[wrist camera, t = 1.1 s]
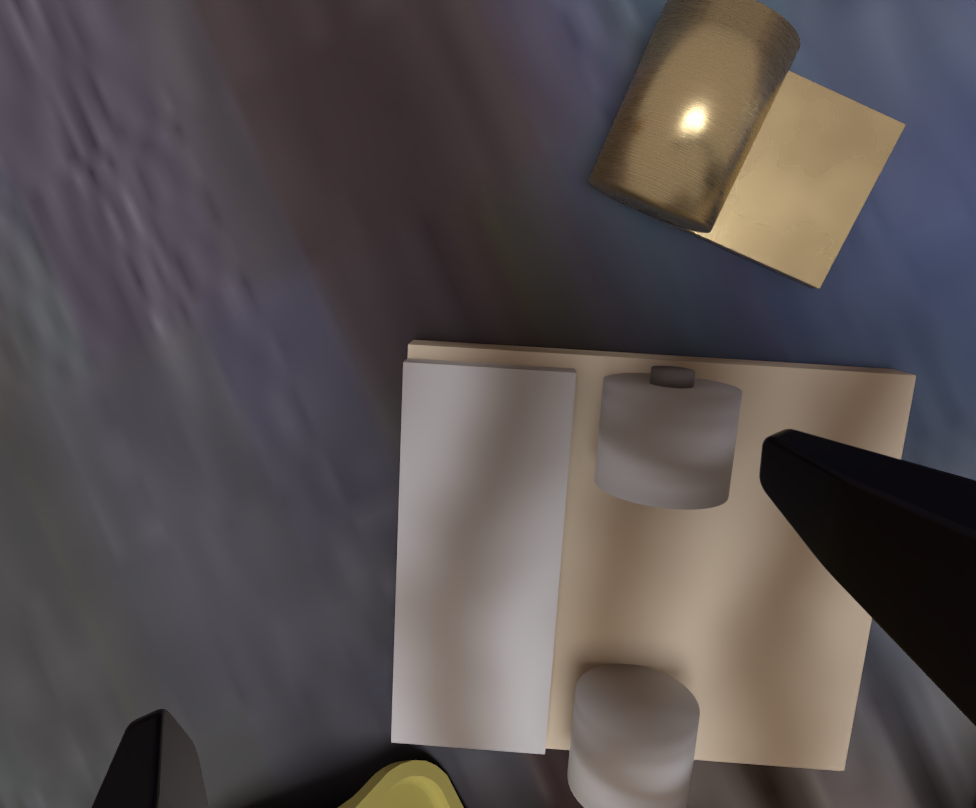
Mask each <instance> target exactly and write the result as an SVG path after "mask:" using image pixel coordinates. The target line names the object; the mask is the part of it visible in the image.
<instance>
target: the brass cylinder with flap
mask: <svg viewBox="0 0 976 808" xmlns="http://www.w3.org/2000/svg"><path fill="white" fill-rule="evenodd" d="M799 48H800V38H799V36H798V34H797V32H796V30H795V29H794V28H793V26H792V25H791V24H790V23H789V22H788V21H787V20H786V19H784V18H783V17H782V16H781V15H779V14H778V13H777V12H775V11H774V10H772V9H770V8H769V7H767V6H765V5H764V4H762V3H760V2H758V1H756V0H667V2H666V4H665V6H664V9H663V11H662V13H661V16H660V18H659V20H658V22H657V25H656V27H655V29H654V31H653V34H652V36H651V38H650V41H649V43H648V45H647V47H646V50H645V52H644V54H643V56H642V59H641V61H640V63H639V66H638V68H637V70H636V72H635V75H634V77H633V79H632V81H631V84H630V86H629V88H628V91H627V93H626V95H625V97H624V100H623V102H622V104H621V106H620V109H619V111H618V113H617V116H616V118H615V120H614V122H613V125H612V127H611V129H610V131H609V134H608V136H607V138H606V141H605V143H604V145H603V147H602V150H601V152H600V154H599V156H598V159H597V161H596V163H595V166H594V168H593V170H592V172H591V175H590V177H589V179H588V181H589V183H590V184H591V185H592V186H593V187H595V188H596V189H597V190H599V191H600V192H602V193H604V194H605V195H607V196H609V197H611V198H613V199H614V200H616V201H618V202H620V203H622V204H624V205H627V206H629V207H631V208H633V209H636V210H638V211H640V212H642V213H645V214H647V215H649V216H651V217H654V218H656V219H658V220H660V221H662V222H665V223H667V224H669V225H671V226H674V227H676V228H678V229H680V230H683V231H685V232H687V233H689V234H692V235H694V236H696V237H698V238H701V239H703V240H705V241H707V242H710V243H712V244H714V245H716V246H718V247H721V248H723V249H725V250H727V251H730V252H732V253H734V254H736V255H739V256H741V257H743V258H745V259H748V260H750V261H752V262H754V263H757V264H759V265H761V266H763V267H766V268H768V269H770V270H772V271H775V272H777V273H779V274H781V275H783V276H786V277H788V278H790V279H792V280H795V281H797V282H799V283H801V284H804V285H806V286H808V287H810V288H817V289H820V287H821V285H822V283H823V281H824V279H825V277H826V275H827V274H828V272H829V270H830V268H831V266H832V264H833V262H834V260H835V258H836V256H837V255H838V253H839V251H840V249H841V247H842V245H843V243H844V241H845V239H846V237H847V235H848V234H849V232H850V230H851V228H852V226H853V224H854V222H855V220H856V218H857V216H858V215H859V213H860V211H861V209H862V207H863V205H864V203H865V201H866V199H867V197H868V195H869V194H870V192H871V190H872V188H873V186H874V184H875V182H876V180H877V178H878V176H879V175H880V173H881V171H882V169H883V167H884V165H885V163H886V161H887V159H888V157H889V155H890V154H891V152H892V150H893V148H894V146H895V144H896V142H897V140H898V138H899V136H900V135H901V133H902V131H903V129H904V127H905V124H903V123H901V122H899V121H897V120H895V119H892V118H890V117H888V116H886V115H884V114H882V113H879V112H877V111H875V110H873V109H871V108H869V107H866V106H864V105H862V104H860V103H858V102H856V101H853V100H851V99H849V98H847V97H845V96H843V95H840V94H838V93H836V92H834V91H832V90H830V89H827V88H825V87H823V86H821V85H819V84H816V83H814V82H812V81H810V80H808V79H806V78H803V77H801V76H799V75H797V74H795V73H793V72H790V71H789V69H790V67H791V65H792V63H793V61H794V59H795V57H796V54H797V52H798V50H799Z"/></svg>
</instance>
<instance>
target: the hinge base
mask: <svg viewBox="0 0 976 808" xmlns="http://www.w3.org/2000/svg"><path fill="white" fill-rule="evenodd" d="M915 380H916V375H913V374H910V373H906V372H903V371H900V370H896V369H887V368H871V367H855V366H838V365H822V364H805V363H789V362H773V361H756V360H740V359H723V358H707V357H691V356H674V355H658V354H641V353H625V352H608V351H592V350H576V349H559V348H543V347H526V346H510V345H494V344H477V343H461V342H444V341H428V340H413V341H412V342H410V343H409V344H408V358H407V359H406V360H405V361H404V362H403V386H402V417H401V449H400V480H399V511H398V542H397V573H396V605H395V636H394V667H393V698H392V730H391V743H404V744H417V745H430V746H443V747H456V748H469V749H482V750H495V751H508V752H521V753H534V754H545V748H548V749H561V750H570V752H569V763H568V783H569V786H570V789H571V791H572V793H573V795H574V796H575V798H576V799H577V800H578V802H579V803H580V804H581V805H582V806H583V807H584V808H687V805H688V799H689V792H690V784H691V777H692V769H693V762H694V760H705V761H718V762H731V763H744V764H757V765H770V766H783V767H796V768H809V769H822V770H835V771H844V768H845V763H846V758H847V752H848V747H849V741H850V736H851V730H852V725H853V719H854V714H855V708H856V703H857V697H858V692H859V686H860V681H861V676H862V670H863V665H864V659H865V654H866V648H867V643H868V637H869V632H870V626H871V621H872V617H871V616H870V615H869V614H868V613H867V612H866V611H865V610H864V609H863V608H862V607H861V606H860V605H859V604H858V603H857V602H856V601H855V600H854V598H853V597H852V596H851V595H850V594H849V593H848V592H847V591H846V590H845V589H844V588H843V587H842V586H841V585H840V584H839V583H838V582H837V581H836V580H835V579H834V577H833V576H832V575H831V574H830V573H829V572H828V571H827V570H826V569H825V568H824V566H823V565H822V564H821V563H820V562H819V560H818V559H817V558H816V557H815V556H814V554H813V553H812V552H811V550H810V549H809V548H808V547H807V545H806V544H805V543H804V541H803V540H802V539H801V538H800V536H799V535H798V534H797V533H796V531H795V530H794V529H793V527H792V526H791V525H790V524H789V522H788V521H787V520H786V518H785V517H784V516H783V515H782V513H781V512H780V511H779V509H778V508H777V507H776V506H775V504H774V503H773V502H772V501H771V499H770V498H769V497H768V495H767V494H766V493H765V491H764V490H763V488H762V486H761V483H760V478H759V472H760V462H761V452H762V444H763V441H764V440H765V438H767V437H768V436H770V435H773V434H775V433H777V432H779V431H782V430H784V429H794V430H798V431H801V432H805V433H809V434H812V435H816V436H819V437H823V438H826V439H830V440H833V441H837V442H840V443H844V444H848V445H851V446H855V447H858V448H862V449H865V450H869V451H872V452H876V453H879V454H883V455H887V456H890V457H894V458H897V459H901V457H902V451H903V446H904V440H905V435H906V429H907V424H908V419H909V413H910V408H911V402H912V397H913V391H914V386H915Z"/></svg>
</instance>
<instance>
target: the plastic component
mask: <svg viewBox="0 0 976 808" xmlns="http://www.w3.org/2000/svg"><path fill="white" fill-rule="evenodd" d="M337 808H464V807H463V805H462V803H461V801H460V799H459V797H458V796H457V794H456V792H455V790H454V788H453V786H452V784H451V782H450V780H449V778H448V776H447V775H446V774H445V773H444V772H443V771H442V770H441V769H440V768H439V767H438V766H437V765H434V764H432V763H430V762H427V761H421V760H408V761H399V762H395V763H392V764H390V765H388V766H386V767H384V768H382V769H381V770H379V771H378V772H377V773H375V774H374V775H373V776H372V777H371V778H370V779H369V781H368V782H367V783H366V784H365V785H364V786H363V787H362V788H361V789H360V790H359V791H358V792H357V793H356V794H355V795H354V796H353V797H352V798H350V799H349V800H348V801H346V802H345V803H343V804H342V805H341V806H339V807H337Z"/></svg>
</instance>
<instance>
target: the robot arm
mask: <svg viewBox="0 0 976 808" xmlns="http://www.w3.org/2000/svg"><path fill="white" fill-rule="evenodd" d="M759 478H760V483H761V486H762V488H763V490H764V491H765V493H766V494H767V495H768V497H769V498H770V499H771V501H772V502H773V503H774V504H775V506H776V507H777V508H778V509H779V511H780V512H781V513H782V515H783V516H784V517H785V518H786V520H787V521H788V522H789V524H790V525H791V526H792V527H793V529H794V530H795V531H796V533H797V534H798V535H799V536H800V538H801V539H802V540H803V541H804V543H805V544H806V545H807V547H808V548H809V549H810V550H811V552H812V553H813V554H814V556H815V557H816V558H817V559H818V560H819V562H820V563H821V564H822V565H823V566H824V568H825V569H826V570H827V571H828V572H829V573H830V574H831V575H832V576H833V577H834V579H835V580H836V581H837V582H838V583H839V584H840V585H841V586H842V587H843V588H844V589H845V590H846V591H847V592H848V593H849V594H850V595H851V596H852V597H853V598H854V600H855V601H856V602H857V603H858V604H859V605H860V606H861V607H862V608H863V609H864V610H865V611H866V612H867V613H868V614H869V615H870V616H871V617H872V618H873V619H874V620H875V621H876V622H877V624H878V625H879V626H880V627H881V628H882V629H883V630H884V631H885V632H886V633H887V634H888V635H889V636H890V637H891V638H892V639H893V640H894V641H895V642H896V643H897V644H898V645H899V647H900V648H901V649H902V650H903V651H904V652H905V653H906V654H907V655H908V656H909V657H910V658H911V659H912V660H913V661H914V662H915V663H916V664H917V665H918V666H919V667H920V668H921V669H922V671H923V672H924V673H925V674H926V675H927V676H928V677H929V678H930V679H931V680H932V681H933V682H934V683H935V684H936V685H937V686H938V687H939V688H940V689H941V690H942V691H943V692H944V693H945V695H946V696H947V697H948V698H949V699H950V700H951V701H952V702H953V703H954V704H955V705H956V706H957V707H958V708H959V709H960V710H961V711H962V712H963V713H964V714H965V715H966V716H967V718H968V719H969V720H970V721H971V722H972V723H973V724H974V725H975V726H976V481H975V480H972V479H968V478H965V477H961V476H958V475H954V474H950V473H947V472H943V471H940V470H936V469H933V468H929V467H926V466H922V465H919V464H915V463H911V462H908V461H904V460H901V459H897V458H894V457H890V456H887V455H883V454H879V453H876V452H872V451H869V450H865V449H862V448H858V447H855V446H851V445H848V444H844V443H840V442H837V441H833V440H830V439H826V438H823V437H819V436H816V435H812V434H809V433H805V432H801V431H798V430H794V429H784V430H782V431H779V432H777V433H775V434H773V435H770V436H768V437H767V438H765V440H764V441H763V444H762V452H761V462H760V472H759ZM92 808H209V806H208V801H207V797H206V792H205V787H204V782H203V777H202V772H201V767H200V762H199V758H198V754H197V751H196V748H195V746H194V744H193V742H192V740H191V739H190V738H189V736H188V735H187V734H186V732H185V731H184V730H183V729H182V727H181V726H180V725H179V724H178V722H177V721H176V720H175V719H174V717H173V716H172V715H171V714H170V713H169V712H168V711H167V710H165V709H159V710H156V711H154V712H152V713H149V714H147V715H145V716H143V717H140V718H138V719H136V720H134V721H133V722H131V723H130V724H129V726H128V727H127V728H126V730H125V733H124V735H123V737H122V739H121V742H120V744H119V746H118V749H117V751H116V753H115V755H114V758H113V760H112V762H111V764H110V767H109V769H108V771H107V774H106V776H105V778H104V780H103V783H102V785H101V787H100V789H99V792H98V794H97V796H96V799H95V801H94V803H93V805H92Z"/></svg>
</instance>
